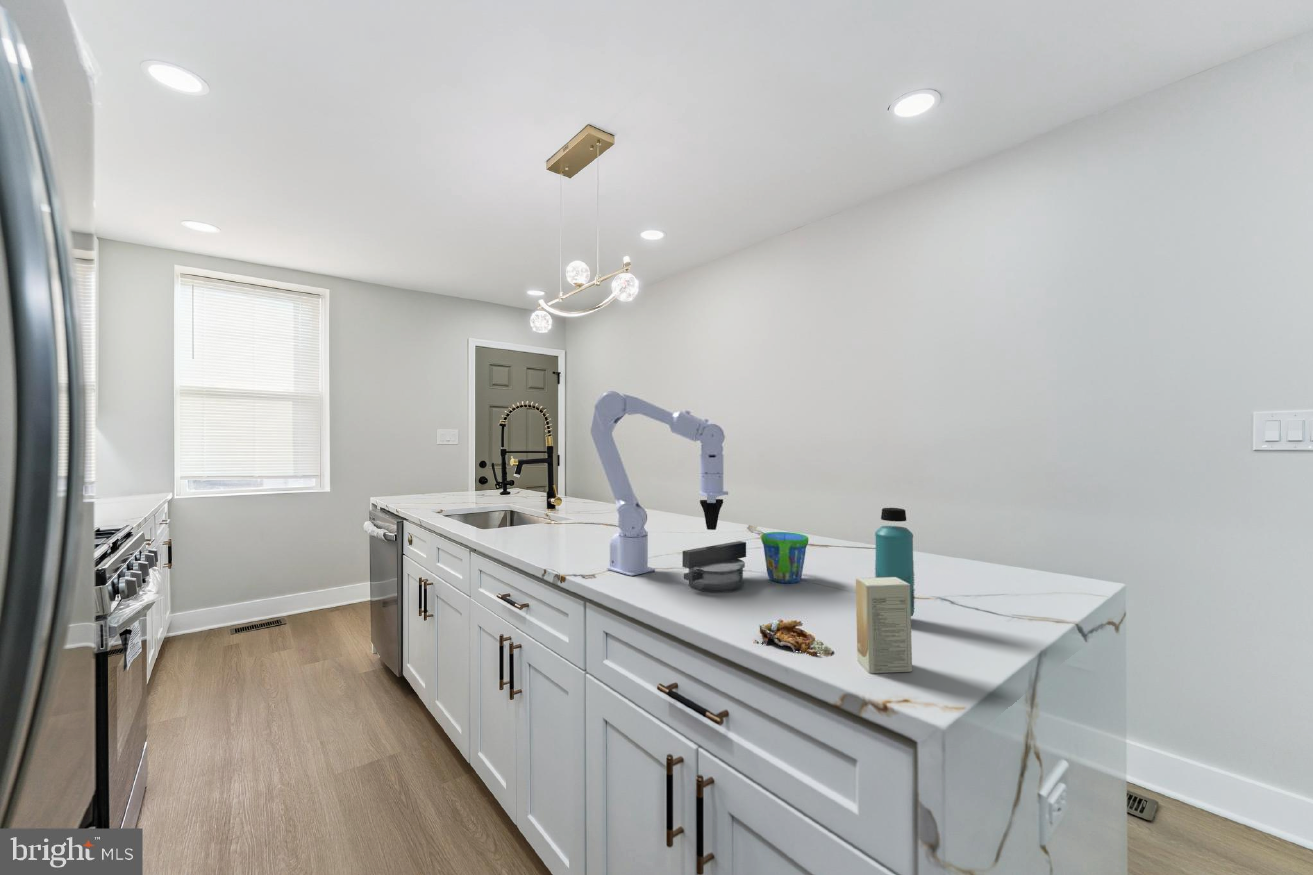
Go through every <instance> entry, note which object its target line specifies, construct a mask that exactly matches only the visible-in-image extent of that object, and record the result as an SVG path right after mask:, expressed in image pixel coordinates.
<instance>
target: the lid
mask: <svg viewBox="0 0 1313 875" xmlns="http://www.w3.org/2000/svg"><path fill="white" fill-rule="evenodd" d="M746 557H747V542H746V541H742V540H741V541H740V540H737V541H733V542H726V543H721V544H714V545H709V546H703V547H697V548H692V549H686V550H682V563H681V564H682V568H686V569H688V570H689V569H690V568H691V569H694V570H699V571H705V572H733V571H738V570H741V569H743V570H744V568H745V567H744V562H745V561H744V560H743V558H746Z"/></svg>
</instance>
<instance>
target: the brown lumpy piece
mask: <svg viewBox="0 0 1313 875" xmlns="http://www.w3.org/2000/svg"><path fill="white" fill-rule="evenodd" d="M802 622H803V621H802V620H795V619H794V620H787V621H783V620H782V619H778V620H772V622H770V623H767V624H759V634H761V639H762V641H761V642H762V643H761V642H759V641H758V640H756V639H752V643H753V644H758V645H759V644H760V645H761V644H762V645H761V646H764V645H765V646H767V645H768V640H771V639H772V641H774V642H775V643H776V644H778V646H779V645H780V646H787V647H790V648H791V649H792V650H793V653H794V652H796V651H801V652H804V653H803V654H805V653H806V654H805V655H807V654H810V655H811V656H810V655H809V656H810V657H814V656H816V657H819V656H818V655H817V654H820V655H821V656H820V657H823V656H828V657H831V655H832V653H833V651H834V650H832V648H831V647H829V646H828V645H826V644H825V643H824V642H823V641H822V640H819V639H816V637H815V636H814V635H812V634H811V633H809V632H807V631H806V630H804V629H802V628H799V627H802V626H803V625H804V624H803V623H802ZM763 644H764V645H763Z"/></svg>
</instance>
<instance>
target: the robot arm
mask: <svg viewBox="0 0 1313 875" xmlns="http://www.w3.org/2000/svg"><path fill="white" fill-rule="evenodd" d="M593 411H594V412H593V417H592V421H591V427H590V435H591V438H592V440H593V443H594V445H595V448H596V452H597V454H598V457H599V460H600V461H601V465H602V468H603V470H604V472H605V476H606V478H607V481H608V484H609V486H610V489H611V492H612V494H613V497H614V500H615V505H616V511H617V515H618V521H617V523H618V528H619V531H618V532H616V533H615V534H613V536H612V537H611V538H610V542H609V566H607V567H606V570H609V571H612V572H616V573H620V574H623V575H627V576H629V577H630V576H631V577H632V576H636V575H640V574H647V573H650V572H655V571H656V568H653V567H650V566H648V565H649V563H648V561H649V560H648V559H649V553H648V552H649V549H648V548H649V546H648V545H649V536H648V535H649V532H648V531H647V530H646V529H645V525H646V523H647V521H648V514H647V511H646V510H645V508H644V507H642V506H641V504H640V503H639V502H640V501H639V500H638V498H637V496H636V494H635V492H634V490H633V488H632V485H631V481H630V480H629V477H628V474H627V472H626V471H627V470H626V469H625V465H624V463H623V460H622V457H621V455H620V452H619V450H618V448H617V444H616V441H615V439H614V437H613V432H614V430H615V428H616V427H617V424H618V423H619V422H620V421H621V420H622V418H624V417H625V415H628V416H634V415H641V416H645V417H647V418H649V419H652V420H654V421H658V422H660V423H663V424H665V425H668V426H669V429H670V431H671V432H672V433H673V434H676V435H677V436H680V437H682V438H685V439H688V440H690V441H693V442H694V443H696V442H698V441H699V442H700V454H699V491H698V495H699V496H701V497H705V498H706V499H700V500H699V505H700V506H701V507H702V511H703V515H704V520H705V526H706V530H708V531H715V530H717V527H718V520H719V516H720V515H719V514H720V513H721V512H720V511H721V508H722V506H723V505H724V499H722V498H718V497H721V496H726V495H727V496H728V495H729V491H728V490H724V454H723V452H724V446H723V443H724V441H725V439H726V438H725V437H726V436H725V433H724V430H723V429H722V427H721V426H719V424H716V423H709V421H710V420H709V419H708V418H704V419H702V418H700V417H697V416H695V415H693V414H692V413H691V411H689V410H685V411H683V410H679V411H676V412H671V411H669V410H666V409H664V408H661V407H659V406H657V405H656V404H653V403H651V402H648V401H647V400H646V401H645V400H644V399H642V398H639V397H636V396H633V395H629V394H625V393H622V394H620V393H619V392H617V391H615V390H608V391H605V392H603V393H602V394H601V395H600V396H599V398H598V400H597V401H596V403H595V404H594V410H593Z"/></svg>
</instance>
